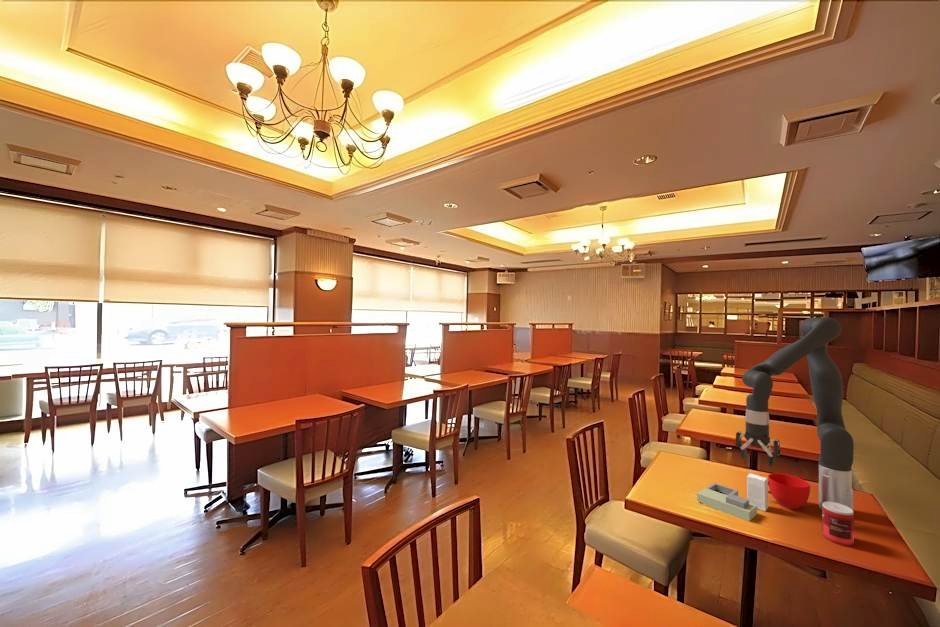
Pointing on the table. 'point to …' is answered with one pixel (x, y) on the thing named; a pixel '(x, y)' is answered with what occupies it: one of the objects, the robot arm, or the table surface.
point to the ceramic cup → (788, 490)
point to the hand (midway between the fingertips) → (757, 462)
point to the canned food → (838, 523)
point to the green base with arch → (727, 501)
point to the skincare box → (757, 491)
